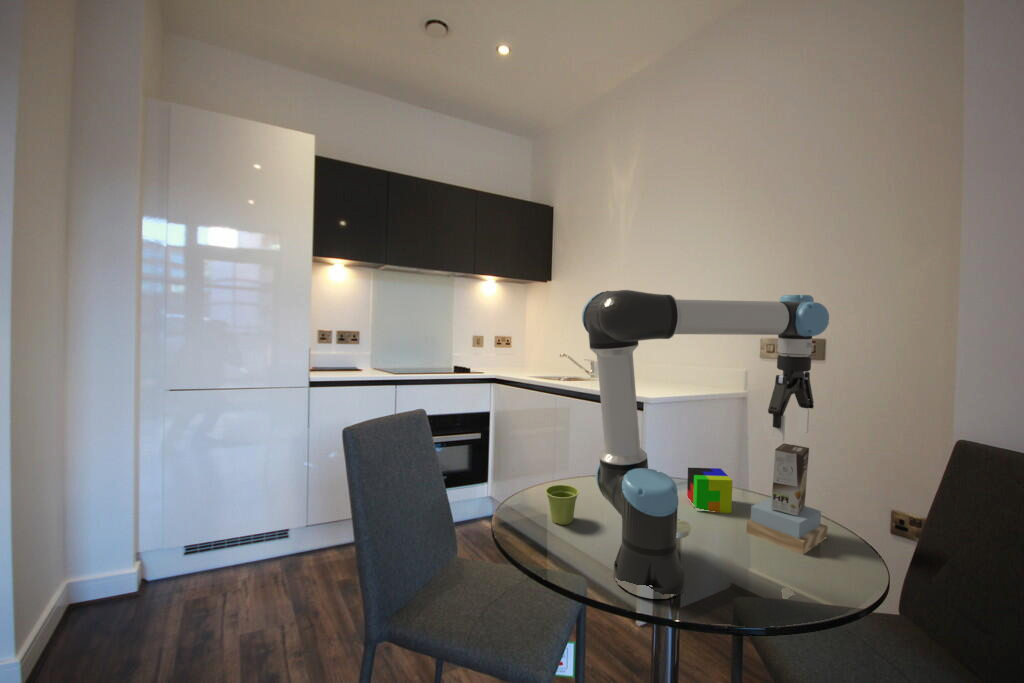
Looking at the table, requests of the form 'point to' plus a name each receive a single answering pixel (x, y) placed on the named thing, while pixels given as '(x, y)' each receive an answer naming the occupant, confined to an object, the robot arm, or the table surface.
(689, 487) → the puzzle toy
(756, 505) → the slate-blue top slab
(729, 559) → the table surface
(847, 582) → the table surface
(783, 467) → the coffee box
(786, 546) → the oak base slab
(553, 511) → the plant pot
